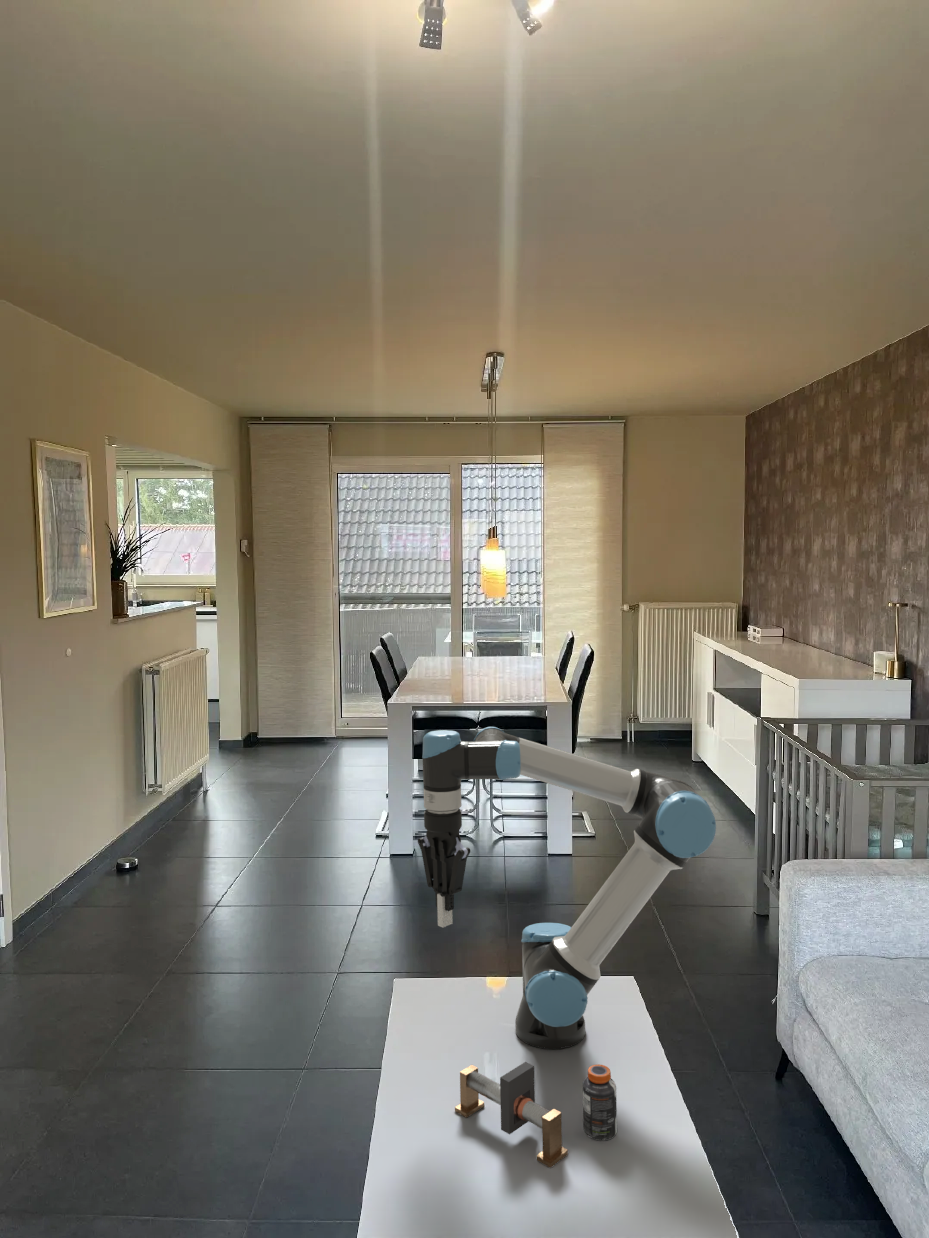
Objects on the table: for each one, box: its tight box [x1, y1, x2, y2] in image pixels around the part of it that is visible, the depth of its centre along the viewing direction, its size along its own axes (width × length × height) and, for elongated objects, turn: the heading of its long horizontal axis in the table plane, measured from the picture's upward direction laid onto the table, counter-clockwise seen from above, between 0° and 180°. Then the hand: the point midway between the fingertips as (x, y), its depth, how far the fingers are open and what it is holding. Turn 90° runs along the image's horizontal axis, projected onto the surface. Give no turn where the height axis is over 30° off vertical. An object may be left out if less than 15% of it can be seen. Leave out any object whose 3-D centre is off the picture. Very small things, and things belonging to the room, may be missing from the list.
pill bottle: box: [582, 1063, 618, 1141], centre depth 157 cm, size 6×6×11 cm
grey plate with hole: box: [499, 1061, 536, 1135], centre depth 155 cm, size 2×7×9 cm, turn 135°
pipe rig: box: [454, 1064, 569, 1169], centre depth 157 cm, size 23×5×8 cm, turn 45°
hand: (445, 924), depth 177 cm, fingers closed
